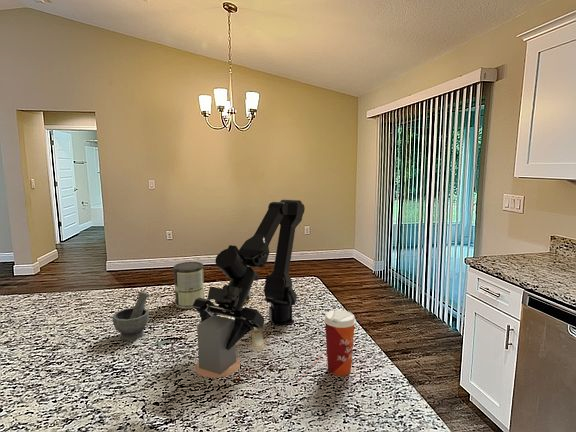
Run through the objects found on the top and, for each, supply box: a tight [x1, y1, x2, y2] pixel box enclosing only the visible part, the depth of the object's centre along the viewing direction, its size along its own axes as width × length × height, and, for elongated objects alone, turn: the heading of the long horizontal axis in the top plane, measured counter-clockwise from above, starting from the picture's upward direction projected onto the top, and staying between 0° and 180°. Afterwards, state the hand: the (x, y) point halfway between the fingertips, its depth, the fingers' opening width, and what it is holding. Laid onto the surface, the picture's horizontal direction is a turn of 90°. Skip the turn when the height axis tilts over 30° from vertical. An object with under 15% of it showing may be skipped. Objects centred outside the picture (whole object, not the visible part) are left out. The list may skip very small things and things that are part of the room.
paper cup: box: [323, 309, 357, 377], centre depth 92 cm, size 8×8×14 cm
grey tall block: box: [196, 314, 237, 375], centre depth 92 cm, size 6×6×11 cm
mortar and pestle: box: [112, 291, 150, 342], centre depth 111 cm, size 11×9×12 cm
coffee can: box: [172, 261, 205, 309], centre depth 136 cm, size 10×10×14 cm
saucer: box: [194, 356, 241, 379], centre depth 92 cm, size 11×11×5 cm
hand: (213, 345), depth 90 cm, fingers open, 8 cm apart
